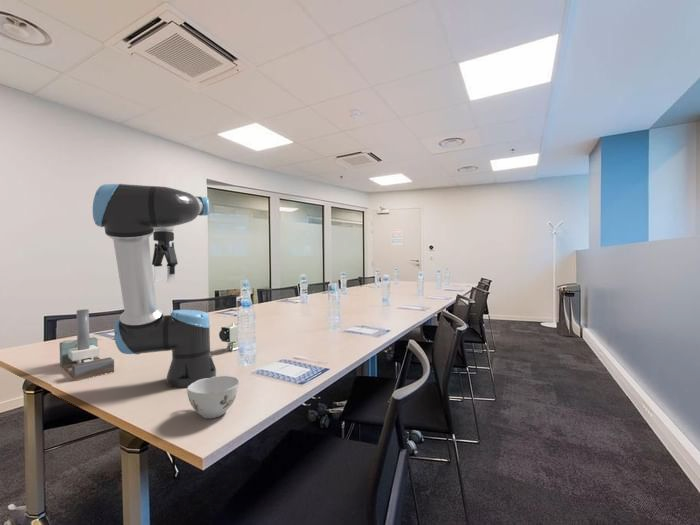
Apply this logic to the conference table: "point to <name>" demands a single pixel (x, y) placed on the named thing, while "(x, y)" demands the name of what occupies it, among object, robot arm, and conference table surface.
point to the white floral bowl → (213, 395)
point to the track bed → (84, 362)
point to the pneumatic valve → (230, 336)
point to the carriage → (83, 339)
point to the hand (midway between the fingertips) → (164, 282)
